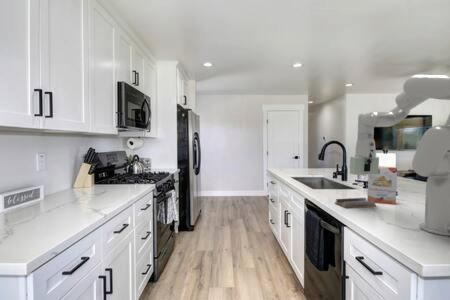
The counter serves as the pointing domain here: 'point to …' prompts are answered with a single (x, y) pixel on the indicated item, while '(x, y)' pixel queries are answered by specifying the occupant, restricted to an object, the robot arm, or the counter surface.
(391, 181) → the cracker box
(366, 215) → the counter surface
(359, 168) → the pale green block
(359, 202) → the door track
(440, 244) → the counter surface
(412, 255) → the counter surface
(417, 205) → the counter surface
